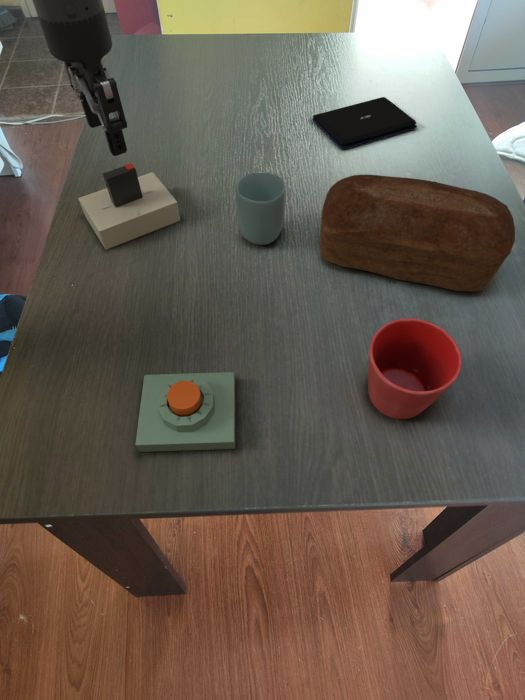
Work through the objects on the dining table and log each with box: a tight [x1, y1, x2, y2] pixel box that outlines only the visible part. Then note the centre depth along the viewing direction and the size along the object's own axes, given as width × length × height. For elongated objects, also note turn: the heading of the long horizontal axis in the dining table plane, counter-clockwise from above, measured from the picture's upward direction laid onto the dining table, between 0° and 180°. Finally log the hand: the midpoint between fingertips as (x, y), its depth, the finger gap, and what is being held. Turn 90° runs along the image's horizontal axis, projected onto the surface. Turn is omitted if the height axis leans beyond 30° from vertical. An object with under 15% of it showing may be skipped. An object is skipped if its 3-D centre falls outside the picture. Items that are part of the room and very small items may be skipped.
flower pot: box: [367, 317, 463, 420], centre depth 58 cm, size 11×11×10 cm
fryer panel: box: [77, 171, 181, 251], centre depth 81 cm, size 14×10×4 cm
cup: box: [235, 171, 287, 246], centre depth 76 cm, size 8×8×10 cm
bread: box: [319, 174, 516, 292], centre depth 72 cm, size 14×28×12 cm, turn 73°
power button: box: [167, 381, 202, 416], centre depth 57 cm, size 4×4×2 cm
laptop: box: [312, 96, 418, 150], centre depth 99 cm, size 16×20×2 cm
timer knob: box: [102, 162, 143, 207], centre depth 77 cm, size 5×2×6 cm, turn 123°
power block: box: [134, 371, 236, 453], centre depth 59 cm, size 12×10×4 cm
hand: (107, 138), depth 67 cm, fingers open, 8 cm apart
